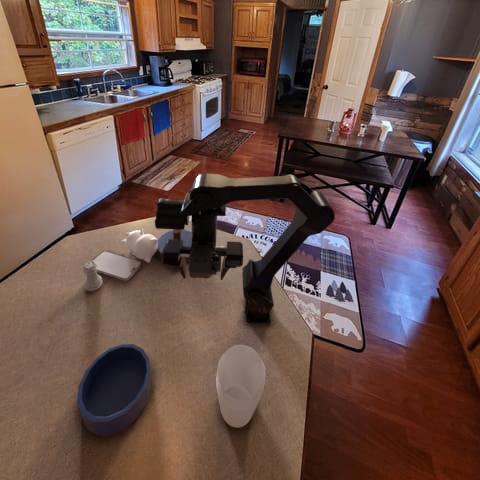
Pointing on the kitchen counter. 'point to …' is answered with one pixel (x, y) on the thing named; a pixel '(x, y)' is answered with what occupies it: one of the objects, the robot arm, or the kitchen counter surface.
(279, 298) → the kitchen counter surface
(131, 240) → the white rounded figure
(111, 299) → the kitchen counter surface
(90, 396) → the tin
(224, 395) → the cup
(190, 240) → the lid
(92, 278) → the rook chess piece
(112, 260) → the smartphone
